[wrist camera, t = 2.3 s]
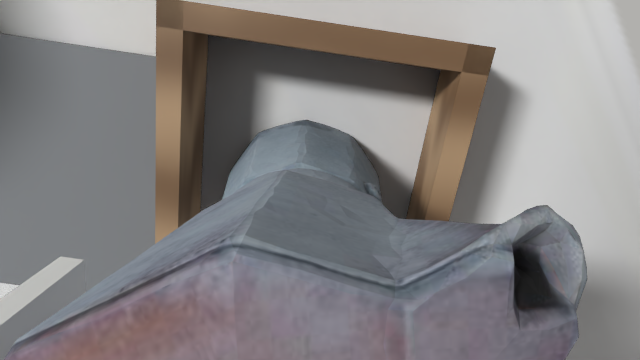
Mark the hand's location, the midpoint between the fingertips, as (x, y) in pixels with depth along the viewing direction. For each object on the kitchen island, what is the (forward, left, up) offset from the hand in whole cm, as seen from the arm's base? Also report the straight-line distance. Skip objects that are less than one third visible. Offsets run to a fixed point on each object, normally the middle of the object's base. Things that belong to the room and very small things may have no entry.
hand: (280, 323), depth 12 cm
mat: (+1, -14, -11) cm, 18 cm away
